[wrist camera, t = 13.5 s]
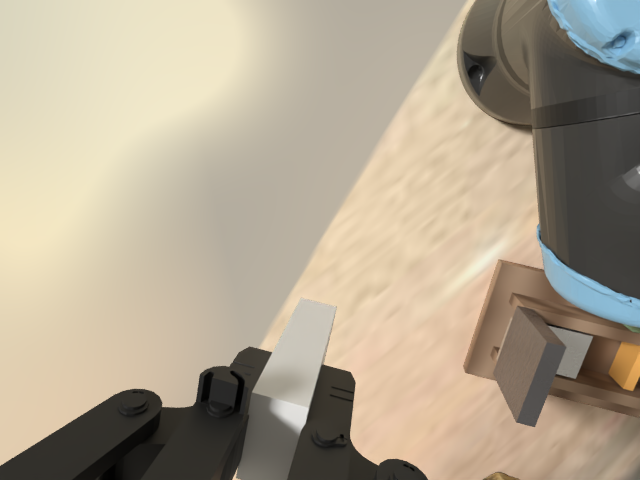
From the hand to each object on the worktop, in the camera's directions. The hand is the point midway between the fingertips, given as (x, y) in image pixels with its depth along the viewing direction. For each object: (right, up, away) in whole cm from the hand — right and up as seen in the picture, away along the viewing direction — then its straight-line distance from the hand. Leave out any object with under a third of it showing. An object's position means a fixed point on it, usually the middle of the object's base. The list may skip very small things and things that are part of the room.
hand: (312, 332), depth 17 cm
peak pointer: (+34, -7, +28) cm, 45 cm away
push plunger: (+24, -7, +30) cm, 39 cm away
